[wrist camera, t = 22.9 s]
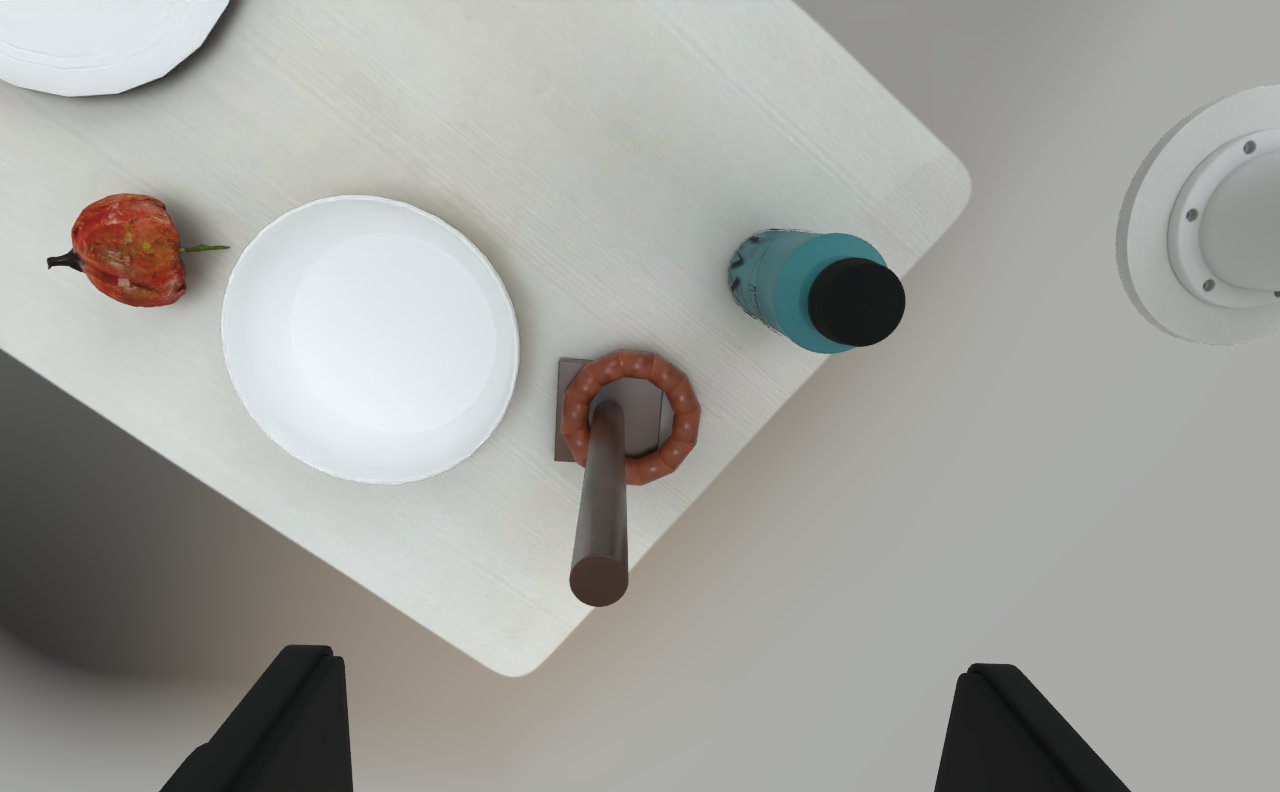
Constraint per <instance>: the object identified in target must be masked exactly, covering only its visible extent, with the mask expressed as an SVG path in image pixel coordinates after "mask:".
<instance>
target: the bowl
mask: <svg viewBox="0 0 1280 792" xmlns="http://www.w3.org/2000/svg"><path fill="white" fill-rule="evenodd" d="M220 331H221V338H222V345H223V353H224V359H225V362H226V365H227V368H228V371H229V374H230V377H231V380H232V383H233V386H234V388H235V390H236V391H237V393H238V395H239V397H240V398H241V400H242V402H243V404H244V405H245V407H246V409H247V411H248V412H249V414H250V415H251V416H252V417H253V418H254V420H255V421H256V422H257V423H258V424H259V426H260V427H261V428H262V429H263V430H264V432H265V433H266V434H267V435H268V436H269V437H270V438H272V439H273V440H274V441H275V442H276V443H277V444H279V445H280V446H281V447H282V448H283V449H284V450H286V451H287V452H288V453H289V454H291V455H292V456H294V457H296V458H297V459H299V460H301V461H302V462H304V463H306V464H308V465H309V466H311V467H313V468H314V469H317V470H320V471H322V472H325V473H327V474H330V475H333V476H335V477H338V478H340V479H345V480H350V481H355V482H360V483H366V484H395V485H396V484H402V483H408V482H414V481H420V480H424V479H427V478H429V477H432V476H435V475H437V474H440V473H443V472H445V471H448V470H450V469H451V468H453V467H454V466H456V465H458V464H459V463H461V462H462V461H464V460H466V459H467V458H469V457H470V456H471V455H472V454H473V453H474V452H476V451H477V450H478V449H479V448H480V447H481V446H482V445H483V444H484V443H485V442H486V441H487V440H488V439H489V438H490V436H491V435H492V434H493V432H494V431H495V429H496V428H497V426H498V425H499V423H500V422H501V420H502V419H503V418H504V415H505V413H506V411H507V408H508V406H509V403H510V401H511V399H512V396H513V394H514V390H515V385H516V379H517V374H518V369H519V363H520V334H519V329H518V325H517V320H516V315H515V311H514V307H513V304H512V302H511V300H510V297H509V295H508V293H507V290H506V288H505V286H504V283H503V281H502V280H501V278H500V277H499V275H498V274H497V272H496V271H495V269H494V268H493V266H492V265H491V263H490V262H489V260H488V259H487V257H486V256H485V255H484V254H483V253H482V252H481V251H480V250H479V249H478V248H477V247H476V246H475V245H474V244H473V243H472V242H471V241H470V240H469V239H468V238H467V237H466V236H465V235H463V234H462V233H461V232H459V231H458V230H456V229H455V228H453V227H452V226H450V225H449V224H448V223H446V222H445V221H443V220H442V219H440V218H438V217H436V216H434V215H432V214H430V213H428V212H426V211H423V210H421V209H419V208H417V207H414V206H412V205H410V204H408V203H405V202H400V201H396V200H392V199H388V198H383V197H379V196H369V195H340V196H335V197H329V198H323V199H317V200H313V201H311V202H309V203H306V204H304V205H301V206H299V207H296V208H294V209H291V210H289V211H287V212H285V213H284V214H283V215H281V216H280V217H278V218H277V219H275V220H274V221H273V222H271V223H270V224H268V225H267V226H265V227H264V228H263V229H262V230H261V231H260V232H259V233H258V234H257V236H256V237H255V238H254V239H253V240H252V241H251V242H250V243H249V244H248V246H247V247H246V248H245V249H244V251H243V252H242V254H241V256H240V258H239V260H238V261H237V263H236V265H235V267H234V269H233V270H232V272H231V274H230V277H229V281H228V284H227V287H226V291H225V294H224V298H223V301H222V314H221V329H220Z"/></svg>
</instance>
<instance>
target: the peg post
mask: <svg viewBox="0 0 1280 792" xmlns="http://www.w3.org/2000/svg"><path fill="white" fill-rule="evenodd" d="M592 361H594V360H582V359H568V358H560V360H559V371H558V392H557V414H556V435H555V457H554V460H555V461H566V462H576V461H575V460H574V458H573V455H572V453H571V451H570V449H569V447H568V445H567V443H566V441H565V439H564V437H563V435H562V433H561V416H562V404H563V396H564V393H565V391H566V390H567V389H568V387H569V386H570V385H571V383H572V382H573V380H574V379H575V378H576V376H577V375H578V374H579V372H580V371H581V370H582V368H583V367H584V366H585V365H586V364H588V363H590V362H592ZM662 394H663V391H662V390H661V389H659V388H658V387H657V386H655V385H654V384H652V383H651V382H650V381H648V380H646V379H636V378H627V377H623V378H621V379H619V380H616V381H614V382H612V383H609V384H607V385H605V386H603V387H602V388H601V389H600V391H599V392H598V393H597V395H596V396H595V397H594V399H593V400H592V401H591V403H590V404H589V414H588V424H587V426H588V428H589V430H590V439H589V446H588V453H587V460H586V467H585V474H584V481H583V488H582V495H581V502H580V509H579V516H578V523H577V530H576V537H575V544H574V550H573V557H572V564H571V571H570V579H569V581H570V587H571V590H572V592H573V594H574V595H575V596H576V597H577V598H578V599H579V600H580V601H581V602H583V603H585V604H587V605H590V606H595V607H602V606H608V605H611V604H613V603H615V602H616V601H618V600H619V599H620V598H621V597H622V596H623V595H624V593H625V591H626V590H627V587H628V542H627V503H626V464H625V458H629V459H639V458H641V457H644V456H646V455H649V454H651V453H653V452H656V451H658V439H659V428H660V417H661V406H662Z"/></svg>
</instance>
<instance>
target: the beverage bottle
mask: <svg viewBox="0 0 1280 792" xmlns="http://www.w3.org/2000/svg"><path fill="white" fill-rule="evenodd" d="M769 230H770V231H767V232H762V233H759V234H757V235H755V236H753V235H754V234H753V235H752V237H751V238H750V239H748V240H747V238H746V239H745V241H746V240H747V241H746V242H744V243H742V246H741V245H740V246H741V247H739V246H738V247H739V249H736V250H738V251H737V252H736V254H735V255H734V254H733V255H734V258H733V259H732V262H731V261H730V262H731V266H730V269H728V270H730V272H729V273H730V284H728V285H729V286H731V288H729V289H731V290H732V292H731V293H733V295H734V297H735V299H736V300H737V302H738V303H739V304H740V305H741V306H742V307H743V308H744V309H745V310H747V311H748V312H750V313H751V315H752V314H753V315H752V316H753V318H754V317H755V316H756V317H757V318H759V320H762V321H764V322H765V323H766V324H767V326H768V325H770V326H771V327H772V328H774V329H776V330H777V331H779V332H780V333H782V334H784V335H785V337H786V336H787V337H788V338H790V339H791V340H792V341H793V342H794V343H796V344H797V345H799V346H801V347H803V348H805V349H807V350H810V351H812V352H817V353H824V354H833V353H839V352H844V351H847V350H850V349H853V348H855V347H863V346H869V345H873V344H875V343H878V342H880V341H882V340H883V339H885V338H886V337H888V336H889V335H890V334H891V333H892V332H893V331H894V330H895V329H896V327H897V326H898V324H899V323H900V321H901V318H902V316H903V313H904V309H905V292H904V289H903V286H902V284H901V282H900V280H899V279H898V277H897V276H896V275H895V274H894V273H893V272H892V271H891V270H890V269H888V267H887V265H886V263H885V261H884V259H883V258H882V256H881V255H880V254H879V252H878V251H877V250H876V249H875V248H874V247H873V246H872V245H870V244H869V243H868V242H866V241H864V240H863V239H861V238H858V237H856V236H853V235H848V234H841V233H831V234H817V233H816V234H814V233H815V232H814V233H806V232H794V231H792V230H795V231H796V230H797V229H792V230H791V229H790V230H791V232H789V231H788V230H786V231H784V230H783V231H771V230H781V229H769ZM798 230H799V229H798ZM756 233H757V232H756ZM734 253H735V252H734ZM732 257H733V256H732ZM731 295H732V294H731ZM734 297H733V298H734ZM737 302H736V304H737ZM738 306H739V305H738ZM745 310H744V311H745ZM745 312H746V311H745ZM748 312H746V313H748ZM750 313H748V314H749V315H750ZM752 316H751V317H752ZM757 318H754V319H757ZM765 323H764V324H765ZM770 326H768V327H770ZM774 332H776V331H774ZM780 335H781V334H780Z"/></svg>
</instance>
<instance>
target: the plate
mask: <svg viewBox="0 0 1280 792" xmlns="http://www.w3.org/2000/svg"><path fill="white" fill-rule="evenodd" d="M230 2H231V0H0V79H2V80H4V81H6V82H8V83H10V84H13V85H15V86H18V87H23V88H28V89H32V90H37V91H42V92H47V93H52V94H57V95H62V96H67V97H81V96H96V95H111V94H121V93H124V92H127V91H129V90H132V89H134V88H137V87H140V86H142V85H145V84H147V83H150V82H153V81H155V80H158V79H160V78H163V77H165V76H167V75H168V74H169V73H170V72H172V71H173V70H174V69H175V68H176V67H178V66H179V65H180V64H181V63H183V62H184V61H185V60H186V59H188V58H189V57H190V56H191V55H192V54H194V53H195V52H196V51H197V50H199V49H200V48H201V47H202V46H203V45H204V43H205V42H206V40H207V39H208V37H209V35H210V34H211V32H212V31H213V29H214V28H215V26H216V25H217V23H218V22H219V20H220V19H221V17H222V16H223V14H224V13H225V11H226V9H227V8H228V6H229V5H230Z"/></svg>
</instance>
